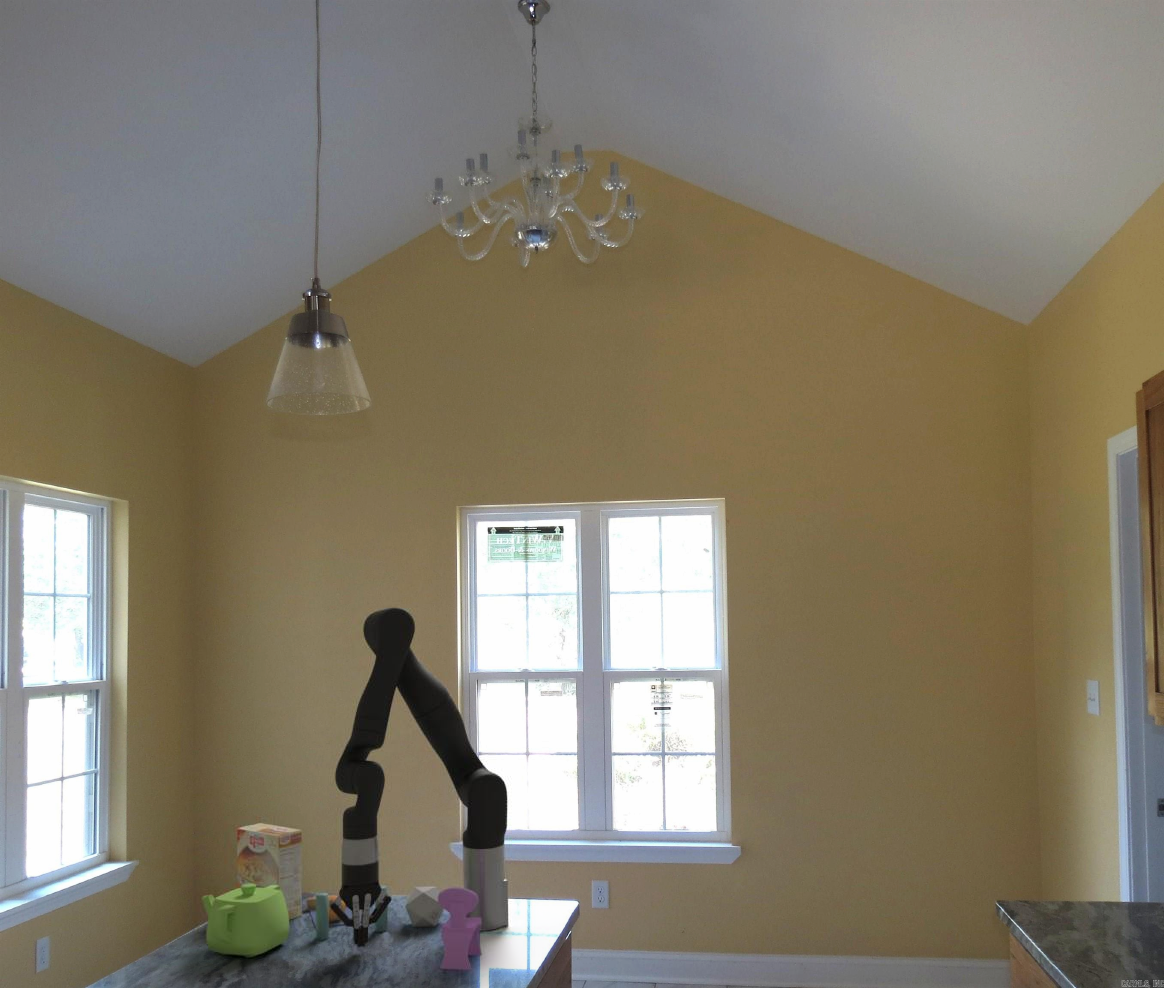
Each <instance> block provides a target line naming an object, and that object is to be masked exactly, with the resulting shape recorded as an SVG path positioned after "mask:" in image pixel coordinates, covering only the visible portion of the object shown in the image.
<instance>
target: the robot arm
mask: <svg viewBox="0 0 1164 988" xmlns="http://www.w3.org/2000/svg"><path fill="white" fill-rule="evenodd" d="M363 623H364V624H363V630H362V631H363V632H362V633H363V637H364V640H365V641H366V644H367V645H368V647H369V649H370V650H371V651H372V653H373V654H374V655H375V659H374V663H373V668H372V670H371V674H370V676H369V679H368V680H367V683H366V685H365V688H364V690H363V692H362V693H361V697H360V699H359V701H358V703H357V707H356V711H355V715H354V716H355V717H354V721H353V724H352V730H351V735H350V738H349V740H348V742H347V743H346V746H345V747H344V750H343V752H342V753H341V754H342V755H341V756H340V758H339V760H338V762H337V765H336V768H335V773H334V774H335V775H334V779H335V784H336V787H337V788H338V791H340V792H341V793H344V794H350V795H356V796H357V797H356V801H355V805H352V806H350V807H347V808H346V809H344V811H343V814H342V844H341V886H340V887H341V888H340V890H339V892H338V894H339V896H338V897H337V898H336V899H335V900H332V901H330V903H329V905H330V907H331V909H332V910H333V911H334V913H335V914H336V915H337V916H338V917H339V918H340V920H341V921H342V922H343V923H344V924H345V925H344V926H345V927H348V928H349V927H351V928H352V930H353V931H352V932H353V934H352V935H353V939H352V940H353V942H354V944H355V945H356V947H357V948H362V947H365V946H366V944H367V943H368V942H369V927H370V925H373V924H375V923H376V922H377V921H378V919H379V918H380V916H381V915H382V913H383V912H384V910H385V909H386V907H387V908H388V906H389V905H390V903H391V901H392V897H391V895H390V894H389V893H388V892H387V893H384V892H383V891H382V889H381V886H382V885H380V864H379V863H380V852H379V851H380V848H379V839H378V813H379V810H380V807H381V801H382V797H383V793H384V789H385V782H386V778H385V777H386V775H385V773H384V769H383V767H382V766H381V764H380V763H378V762H377V761H373V760H367V759H368V757H369V755H370V753H371V752H372V751H375V750H379V749H381V748H382V747H383V745H384V744H385V743H384V742H385V740H386V735H387V729H388V724H389V720H390V719H389V718H390V714H391V709H392V705H393V701H394V697H395V693H396V690H398V692H399V694H400V696H401V698H403V701H404V703H405V704H406V706H407V707H408V709H409V711H410V714H411V715H412V717H413V719H414V720H415V722H416V723H417V725H418V727H419V729H420V731H421V732H422V734H423V735H424V737H425V739H426V740H427V741H428V743H429V745H430V746H431V748H432V749H433V750H434V752H435V754H437V756H438V757H439V758H440V761H441V762H442V764H443V765H444V767H445V769H446V771H447V773H448V775H449V778H450V780H451V782H452V784H453V786H454V789H455V791H456V793H457V796H458V798H459V800H460V802H461V803H462V804H463V805H464V807H465V808H467V812H466V813H467V815H466V817H467V820H466V821H467V822H466V823H467V824H466V829H465V830H464V831H463V833H462V878H463V879H462V881H463V883H462V885H463V887H462V888H466V889H469V890H471V891H473V892H475V893H476V894H477V895H478V898H479V901H478V904H477V906H476V907H475V908H474V910H473V911H471V912H470V913H468V914H467V915H466V918H472V917H481V922H482V926H481V929H480V931H492V930H493V931H494V930H497V929H500V928H502V927H504V926H509V925H510V924H509V884H508V883H509V882H508V879H506V865H505V864H506V863H505V859H506V858H505V857H506V856H505V835H506V832H507V828H508V789H507V785H506V783H505V781H504V779H503V778H502V777H501V776H500V775H498V774H496V773H494V772H493V771H490V770H489V769H488V768H487V767H486V766H485V765H484V764H483V762H482V760H481V759H480V757H479V756H478V755H477V754H476V752H475V751H474V748H473V747H472V745H471V742H470V741H469V737H468V734H467V731H466V727H465V724H464V720H463V717H462V715H461V713H460V711H459V708H458V706H457V704H456V703H455V700H453V698H452V696H451V695H450V692H449V691H448V690H447V688H446V687H445V685H444V684H443V683H442V682H441V681H440V680H439V679H438V678H437V677H436V676H435V675H434V674H433V673H432V671H430V670H428V669H427V668H426V666H425V665H424V664H422V662H420V661H419V659H418V657H416V655H415V653H414V652H413V650H412V648H411V645H412V642H413V640H414V637H415V632H416V624H415V623H416V622H415V620H414V618H413V616H412V613H410V612H409V611H408V610H407V609H405V608H403V607H400V606H399V607H397V606H395V607H387V608H385V609H379V610H376V611H374V612H372V613H370V614H369V615H368V616H367V617H366V619H365V620H364V622H363ZM378 897H379V899H378V901H379V903H378V905H377V906H376V908H375V907H374V906H373V905H374V904H375V901H376V900H377V898H378ZM342 900H343V902H344V903H345V904H346V905H347V907H348V908H349V909H350V910H351V911H352V919H351V918H349V917H348V916H347V915H346V914H345V913H344V912H343V910H342V909H341V908H342V903H341V901H342ZM371 907H374V911H373V912H372V914H371V915H370V908H371ZM359 910H361V923H360V913H359ZM369 915H370V916H369Z"/></svg>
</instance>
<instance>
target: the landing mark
mask: <svg viewBox="0 0 1164 988" xmlns="http://www.w3.org/2000/svg"><path fill="white" fill-rule="evenodd" d="M374 909H375V907H374V906H372V907H371V908H370V915H371V914H372V912H373V911H374ZM309 913H310V917H311V919H312V922H313V925H314V929H316V909H314V910H310V911H309ZM359 913H360V924H361V910H359ZM345 914H346V915H347V916H348V917H349V918H351V919H352V911H351V910H350V909H349V908H348V907H347V905H346V906H345ZM370 915H369V916H370ZM339 926H346V925H345V924H344V923H343V922H342V921H341V920H340V919H339V920H337V921H335V922H329V928H332V927H339Z"/></svg>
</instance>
